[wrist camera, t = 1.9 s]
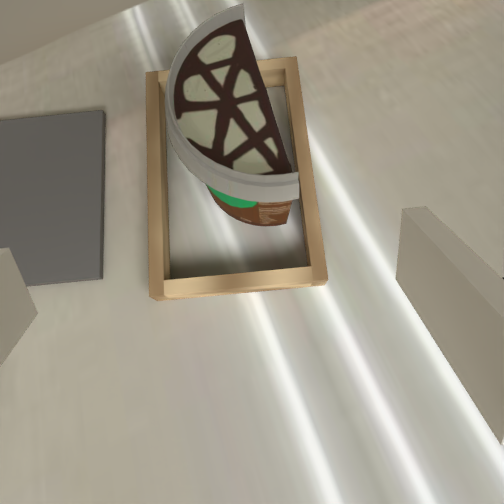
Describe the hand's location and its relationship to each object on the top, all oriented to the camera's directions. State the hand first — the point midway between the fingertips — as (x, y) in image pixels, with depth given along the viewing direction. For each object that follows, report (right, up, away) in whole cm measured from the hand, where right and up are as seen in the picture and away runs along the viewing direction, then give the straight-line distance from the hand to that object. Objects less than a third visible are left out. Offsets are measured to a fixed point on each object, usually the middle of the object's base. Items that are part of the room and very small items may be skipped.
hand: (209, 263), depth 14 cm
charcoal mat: (-16, +5, +18) cm, 24 cm away
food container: (0, +6, +18) cm, 19 cm away
